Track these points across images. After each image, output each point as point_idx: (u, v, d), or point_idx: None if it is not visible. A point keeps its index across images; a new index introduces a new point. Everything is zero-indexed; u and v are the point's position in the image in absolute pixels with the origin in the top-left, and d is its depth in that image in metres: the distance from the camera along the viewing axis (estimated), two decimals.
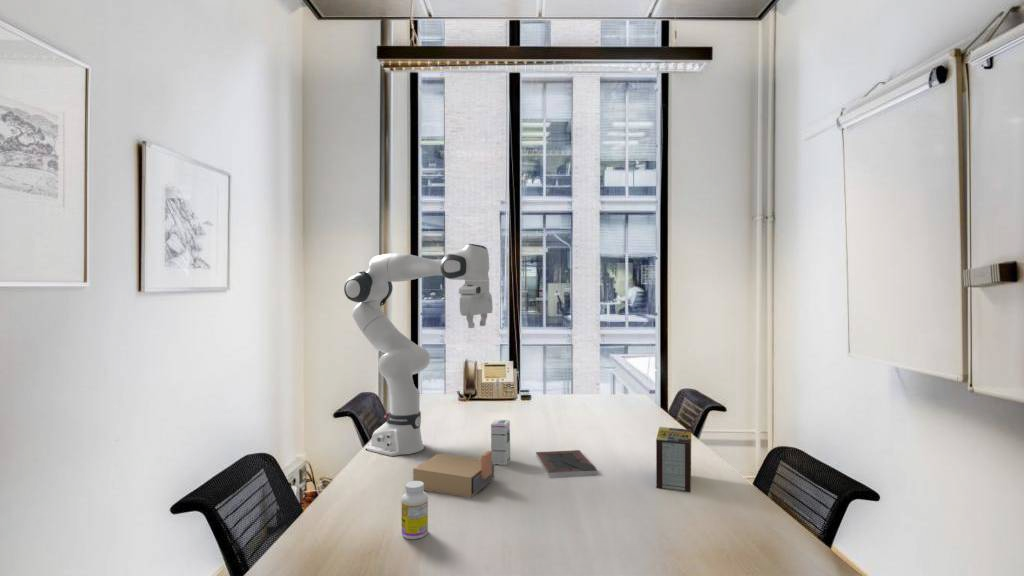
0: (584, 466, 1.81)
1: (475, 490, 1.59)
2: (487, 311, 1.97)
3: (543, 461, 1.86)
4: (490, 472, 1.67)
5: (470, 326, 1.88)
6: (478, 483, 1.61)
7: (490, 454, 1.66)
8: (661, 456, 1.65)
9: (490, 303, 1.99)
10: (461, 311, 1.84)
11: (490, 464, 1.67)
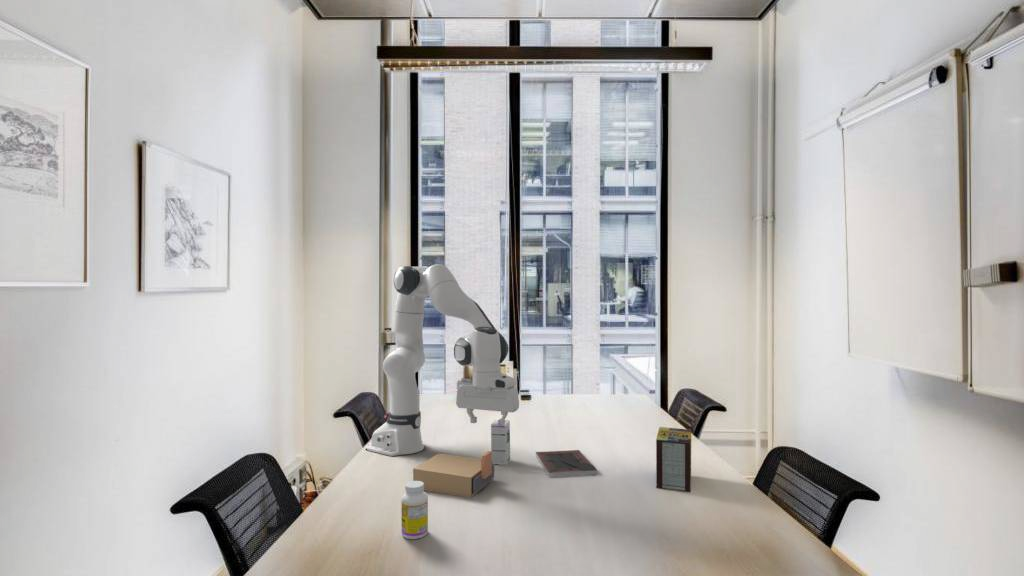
0: (584, 466, 1.81)
1: (475, 490, 1.59)
2: None
3: (543, 461, 1.86)
4: (490, 472, 1.67)
5: (503, 423, 1.63)
6: (478, 483, 1.61)
7: (490, 454, 1.66)
8: (661, 456, 1.65)
9: None
10: (515, 407, 1.60)
11: (490, 464, 1.67)
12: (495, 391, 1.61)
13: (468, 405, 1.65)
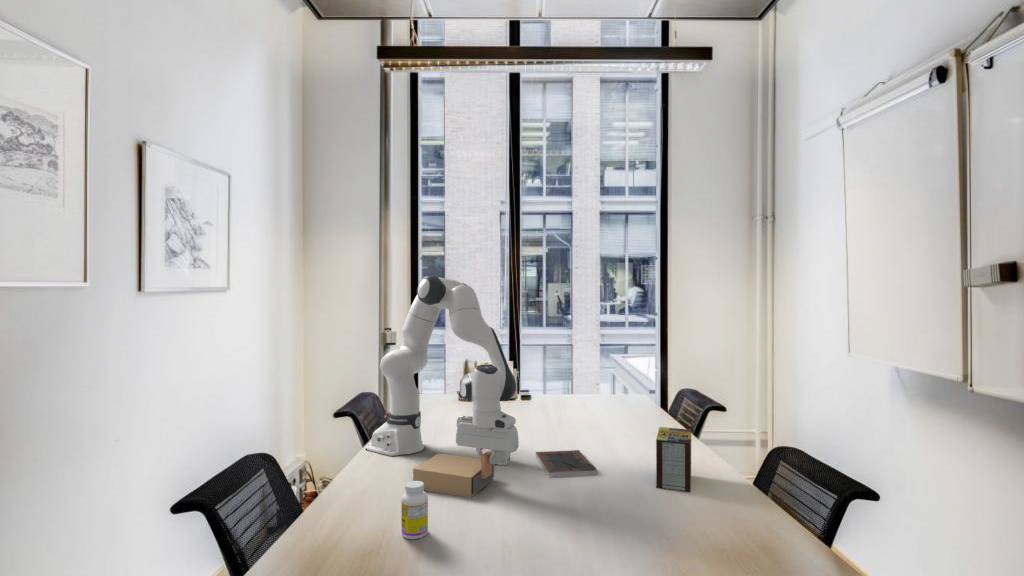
0: (584, 466, 1.81)
1: (475, 490, 1.59)
2: None
3: (543, 461, 1.86)
4: (490, 472, 1.67)
5: (492, 461, 1.64)
6: (478, 483, 1.61)
7: (490, 454, 1.66)
8: (661, 456, 1.65)
9: None
10: (515, 448, 1.60)
11: (490, 464, 1.67)
12: (495, 431, 1.61)
13: (468, 443, 1.66)
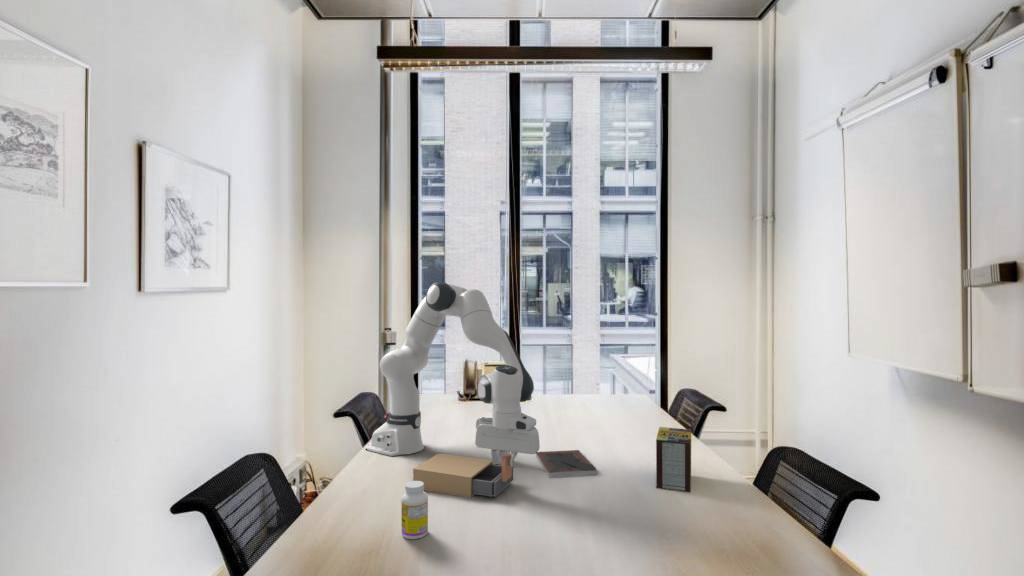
0: (584, 466, 1.81)
1: (496, 493, 1.57)
2: None
3: (543, 461, 1.86)
4: (510, 475, 1.64)
5: (513, 463, 1.62)
6: (498, 486, 1.59)
7: (510, 457, 1.64)
8: (661, 456, 1.65)
9: None
10: (536, 449, 1.58)
11: (510, 467, 1.64)
12: (515, 432, 1.59)
13: (487, 445, 1.63)
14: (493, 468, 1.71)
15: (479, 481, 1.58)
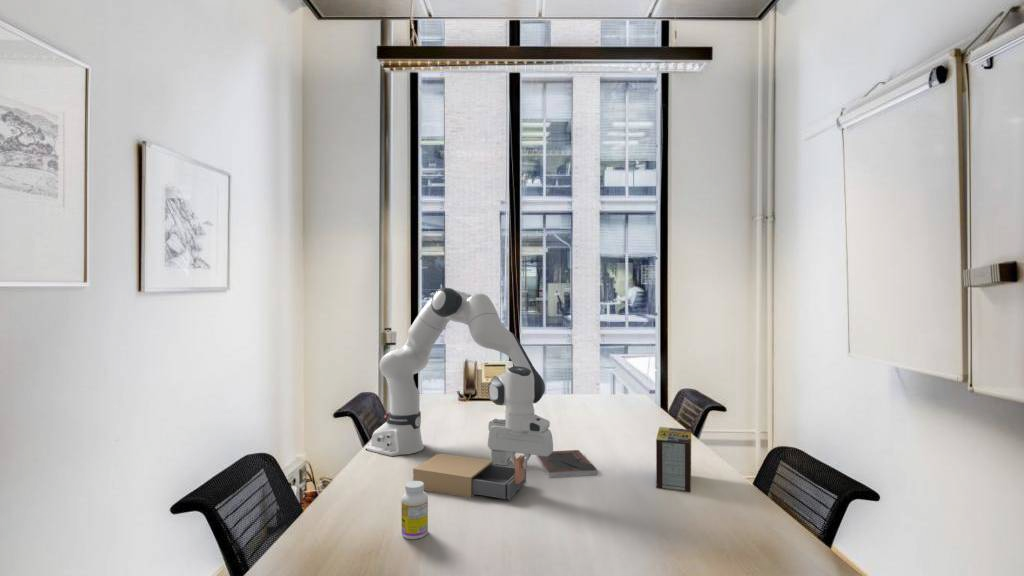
0: (584, 466, 1.81)
1: (509, 496, 1.55)
2: None
3: (543, 461, 1.86)
4: (523, 477, 1.62)
5: (526, 465, 1.60)
6: (512, 488, 1.57)
7: (523, 458, 1.62)
8: (661, 456, 1.65)
9: None
10: (550, 451, 1.56)
11: (523, 469, 1.62)
12: (529, 434, 1.57)
13: (500, 447, 1.61)
14: (505, 470, 1.70)
15: (492, 483, 1.57)
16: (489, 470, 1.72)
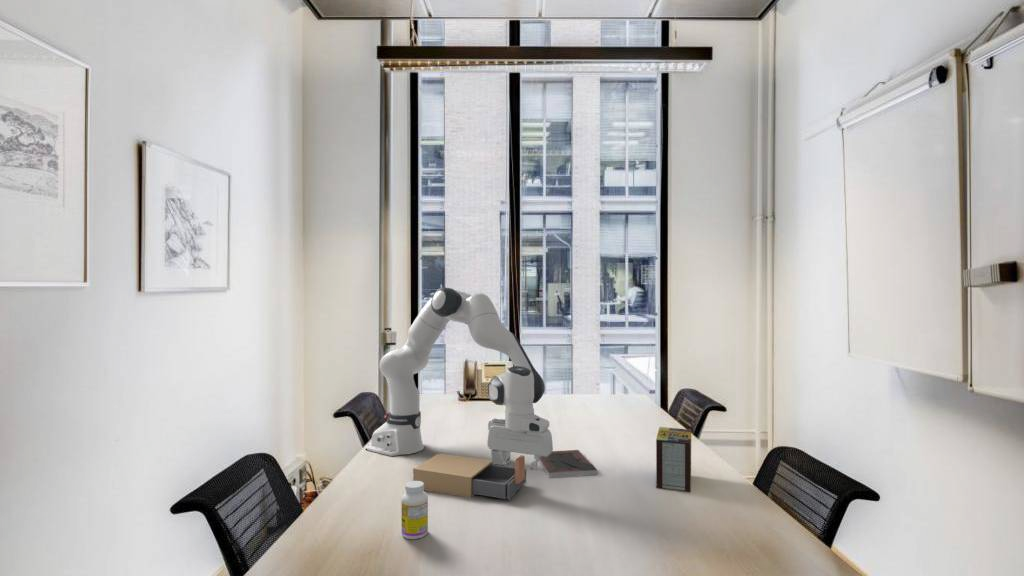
0: (584, 466, 1.81)
1: (509, 496, 1.55)
2: None
3: (543, 461, 1.86)
4: (523, 477, 1.62)
5: (536, 467, 1.59)
6: (512, 488, 1.57)
7: (523, 458, 1.62)
8: (661, 456, 1.65)
9: None
10: (549, 451, 1.56)
11: (523, 469, 1.62)
12: (529, 434, 1.57)
13: (500, 447, 1.61)
14: (505, 470, 1.70)
15: (492, 483, 1.57)
16: (489, 470, 1.72)
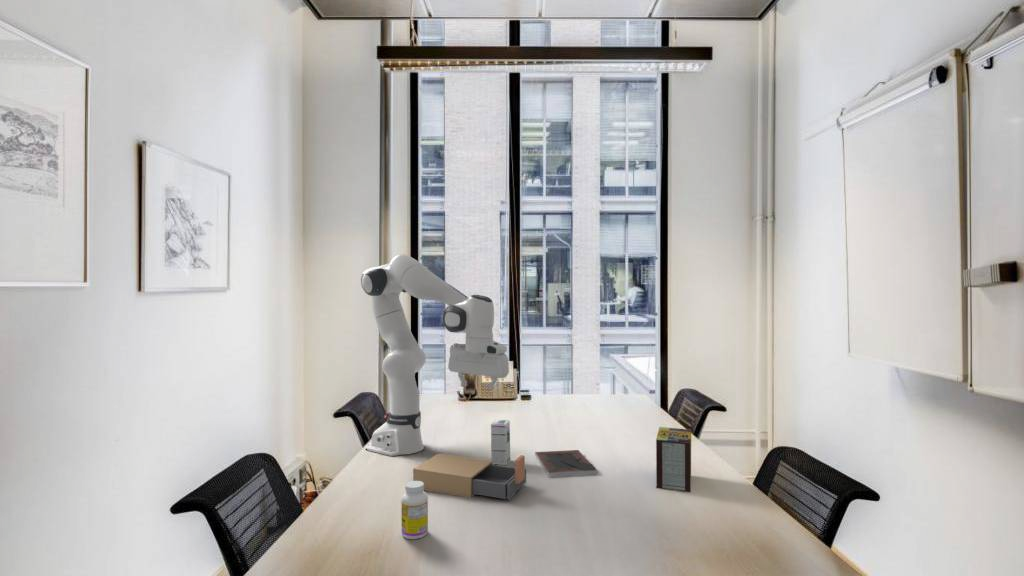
0: (584, 466, 1.81)
1: (509, 496, 1.55)
2: None
3: (543, 461, 1.86)
4: (523, 477, 1.62)
5: (492, 388, 1.70)
6: (512, 488, 1.57)
7: (523, 458, 1.62)
8: (661, 456, 1.65)
9: None
10: (505, 373, 1.67)
11: (523, 469, 1.62)
12: (486, 357, 1.68)
13: (459, 369, 1.72)
14: (505, 470, 1.70)
15: (492, 483, 1.57)
16: (489, 470, 1.72)
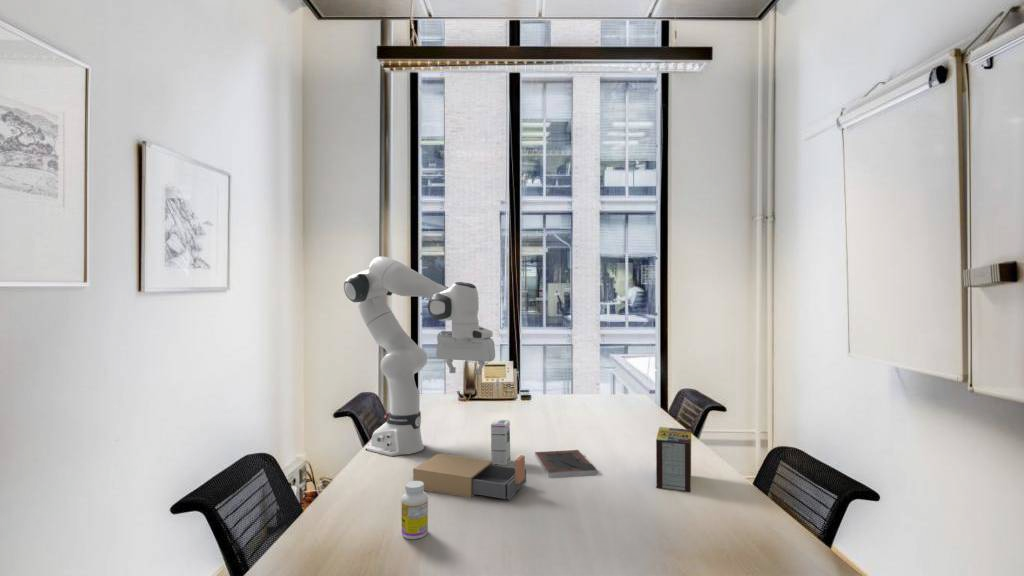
0: (584, 466, 1.81)
1: (509, 496, 1.55)
2: None
3: (542, 461, 1.86)
4: (523, 477, 1.62)
5: (480, 373, 1.72)
6: (512, 488, 1.57)
7: (523, 458, 1.62)
8: (661, 456, 1.65)
9: None
10: (491, 357, 1.70)
11: (523, 469, 1.62)
12: (472, 342, 1.71)
13: (447, 356, 1.75)
14: (505, 470, 1.70)
15: (492, 483, 1.57)
16: (489, 470, 1.72)
